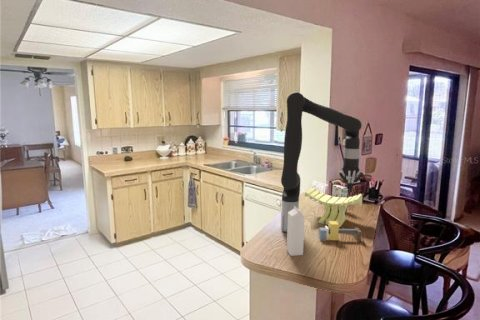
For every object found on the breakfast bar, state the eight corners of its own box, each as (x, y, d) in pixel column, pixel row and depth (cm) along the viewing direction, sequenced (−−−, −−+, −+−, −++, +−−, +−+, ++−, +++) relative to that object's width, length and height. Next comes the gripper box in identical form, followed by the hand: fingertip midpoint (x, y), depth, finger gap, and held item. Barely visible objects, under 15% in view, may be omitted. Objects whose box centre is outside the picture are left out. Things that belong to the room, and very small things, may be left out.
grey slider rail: (321, 233, 155) (321, 229, 155) (320, 231, 157) (320, 228, 156) (360, 233, 154) (360, 230, 154) (359, 232, 156) (359, 229, 156)
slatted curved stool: (360, 221, 182) (362, 192, 180) (355, 229, 169) (357, 199, 166) (312, 212, 198) (313, 186, 195) (304, 219, 185) (305, 191, 182)
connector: (320, 240, 154) (320, 230, 153) (318, 237, 158) (319, 227, 157) (326, 240, 154) (326, 230, 153) (324, 237, 158) (324, 227, 157)
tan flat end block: (357, 242, 153) (358, 231, 152) (353, 237, 159) (354, 227, 158) (360, 242, 153) (361, 231, 152) (356, 237, 158) (357, 227, 158)
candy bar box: (347, 212, 199) (348, 188, 197) (340, 212, 198) (342, 188, 195) (337, 207, 210) (338, 184, 207) (330, 207, 208) (332, 184, 206)
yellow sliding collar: (330, 240, 154) (330, 224, 152) (327, 236, 158) (328, 221, 157) (338, 240, 154) (338, 224, 152) (335, 236, 158) (336, 221, 157)
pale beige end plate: (326, 236, 154) (326, 228, 153) (324, 233, 158) (324, 225, 157) (328, 236, 154) (328, 228, 153) (326, 233, 158) (326, 225, 157)
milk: (298, 249, 144) (300, 205, 141) (303, 255, 138) (305, 209, 135) (286, 250, 143) (287, 205, 140) (290, 256, 138) (292, 209, 134)
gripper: (340, 158, 152) (338, 191, 154) (367, 158, 151) (364, 191, 154) (336, 156, 159) (334, 187, 162) (361, 156, 159) (359, 188, 161)
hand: (349, 189), depth 158 cm, fingers closed
